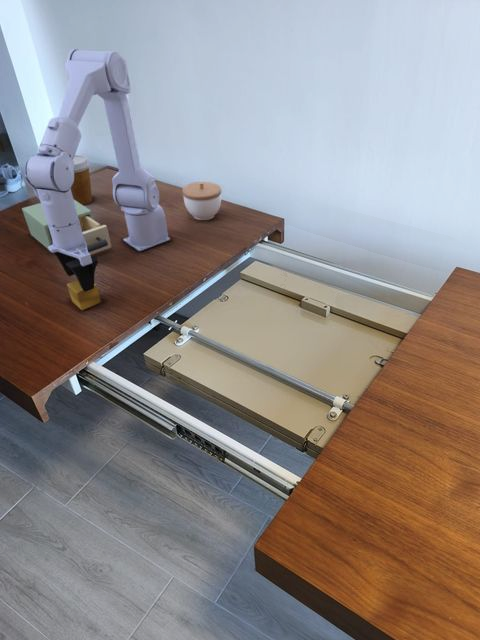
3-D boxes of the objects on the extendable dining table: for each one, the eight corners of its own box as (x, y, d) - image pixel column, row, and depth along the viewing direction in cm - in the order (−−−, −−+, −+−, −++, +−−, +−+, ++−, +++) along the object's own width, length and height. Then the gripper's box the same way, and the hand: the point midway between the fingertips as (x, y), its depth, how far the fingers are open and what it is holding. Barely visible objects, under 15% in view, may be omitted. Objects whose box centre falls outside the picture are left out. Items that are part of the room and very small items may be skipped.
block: (91, 293, 104) (86, 276, 101) (101, 302, 102) (96, 284, 99) (72, 301, 102) (66, 284, 99) (81, 310, 100) (76, 292, 97)
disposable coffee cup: (66, 196, 145) (55, 155, 137) (98, 193, 146) (89, 153, 139) (63, 208, 138) (52, 167, 130) (97, 205, 139) (87, 164, 132)
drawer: (120, 253, 116) (115, 232, 113) (78, 269, 111) (71, 247, 107) (88, 230, 126) (83, 210, 122) (47, 244, 120) (40, 223, 116)
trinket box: (194, 227, 129) (190, 193, 123) (179, 212, 136) (175, 180, 130) (229, 218, 133) (227, 186, 127) (213, 204, 140) (211, 173, 134)
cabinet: (97, 237, 124) (91, 210, 120) (52, 253, 118) (43, 225, 113) (74, 220, 132) (67, 195, 127) (30, 234, 125) (21, 208, 121)
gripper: (27, 214, 92) (48, 274, 101) (58, 241, 84) (77, 304, 92) (62, 204, 95) (79, 263, 104) (95, 229, 87) (110, 291, 96)
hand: (80, 281), depth 99 cm, fingers open, 7 cm apart
